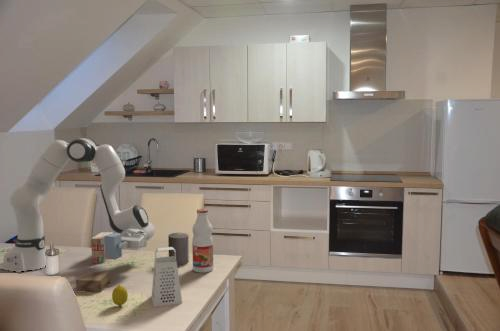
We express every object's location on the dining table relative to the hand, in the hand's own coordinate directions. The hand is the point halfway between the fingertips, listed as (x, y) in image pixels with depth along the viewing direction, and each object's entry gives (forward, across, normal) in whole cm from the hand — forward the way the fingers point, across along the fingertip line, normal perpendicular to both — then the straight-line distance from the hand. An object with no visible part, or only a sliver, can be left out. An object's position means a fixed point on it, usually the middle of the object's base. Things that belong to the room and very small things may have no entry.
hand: (111, 245), depth 203 cm
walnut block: (+12, 0, +15) cm, 19 cm away
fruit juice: (-23, +33, +14) cm, 42 cm away
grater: (+14, +35, +14) cm, 40 cm away
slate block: (-1, 0, +6) cm, 6 cm away
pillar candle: (-29, +17, +14) cm, 36 cm away
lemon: (+25, +22, +14) cm, 36 cm away
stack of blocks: (-26, -23, +15) cm, 38 cm away
